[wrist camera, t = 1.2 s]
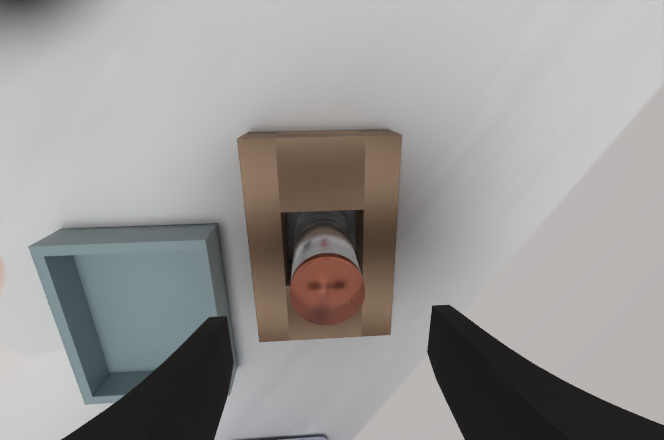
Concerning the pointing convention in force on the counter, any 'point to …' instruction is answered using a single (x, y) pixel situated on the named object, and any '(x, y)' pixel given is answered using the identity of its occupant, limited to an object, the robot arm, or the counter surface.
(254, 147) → the block
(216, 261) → the tray
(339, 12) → the counter surface
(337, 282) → the spice jar
